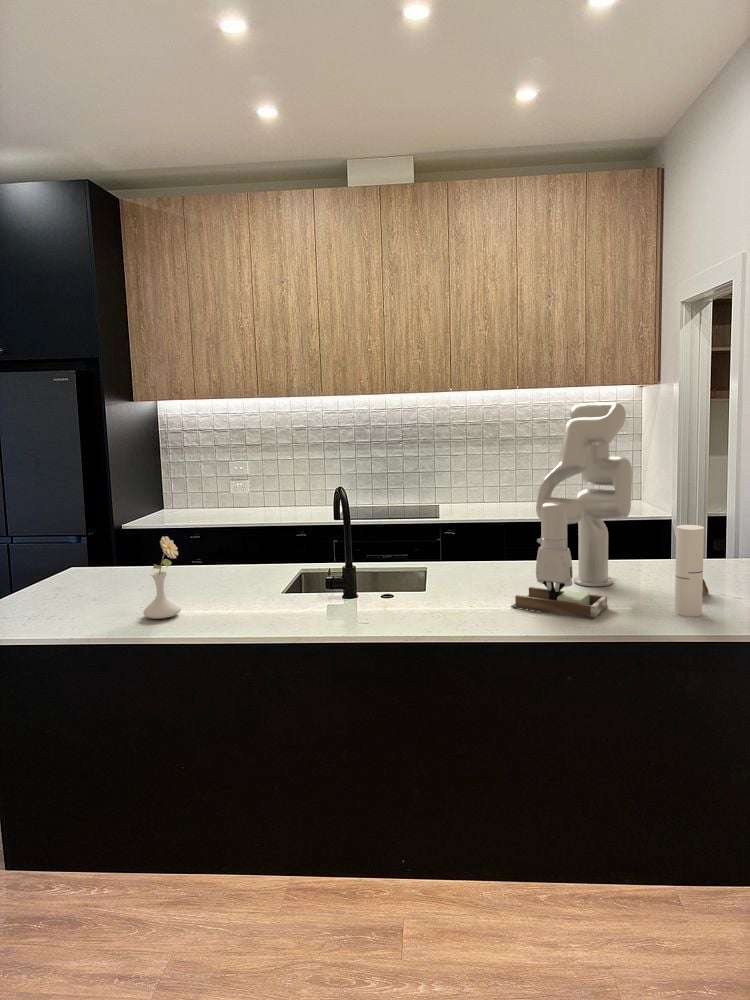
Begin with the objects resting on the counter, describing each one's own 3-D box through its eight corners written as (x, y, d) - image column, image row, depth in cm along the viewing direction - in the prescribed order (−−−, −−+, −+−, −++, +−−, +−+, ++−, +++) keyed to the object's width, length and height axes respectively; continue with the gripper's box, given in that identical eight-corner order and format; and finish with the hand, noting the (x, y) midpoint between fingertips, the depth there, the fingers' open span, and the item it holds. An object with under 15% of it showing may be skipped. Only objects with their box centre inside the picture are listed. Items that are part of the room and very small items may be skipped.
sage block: (566, 601, 218) (566, 590, 218) (589, 605, 214) (589, 593, 214) (557, 609, 212) (556, 597, 211) (580, 612, 208) (580, 600, 207)
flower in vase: (161, 624, 217) (153, 543, 213) (135, 619, 223) (128, 540, 219) (193, 611, 228) (186, 534, 224) (168, 607, 234) (161, 532, 230)
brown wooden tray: (528, 596, 228) (527, 585, 227) (607, 607, 214) (608, 595, 213) (511, 607, 217) (510, 596, 217) (593, 619, 203) (594, 607, 203)
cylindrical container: (704, 616, 202) (706, 529, 198) (677, 616, 203) (679, 529, 200) (698, 608, 209) (700, 524, 205) (672, 608, 210) (674, 524, 206)
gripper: (525, 543, 215) (526, 603, 218) (574, 548, 206) (574, 609, 209) (535, 539, 221) (536, 596, 224) (583, 543, 212) (583, 603, 215)
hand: (554, 602), depth 216 cm, fingers closed
